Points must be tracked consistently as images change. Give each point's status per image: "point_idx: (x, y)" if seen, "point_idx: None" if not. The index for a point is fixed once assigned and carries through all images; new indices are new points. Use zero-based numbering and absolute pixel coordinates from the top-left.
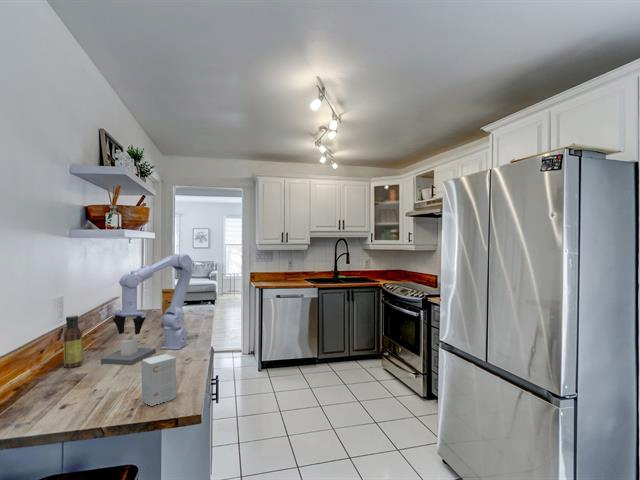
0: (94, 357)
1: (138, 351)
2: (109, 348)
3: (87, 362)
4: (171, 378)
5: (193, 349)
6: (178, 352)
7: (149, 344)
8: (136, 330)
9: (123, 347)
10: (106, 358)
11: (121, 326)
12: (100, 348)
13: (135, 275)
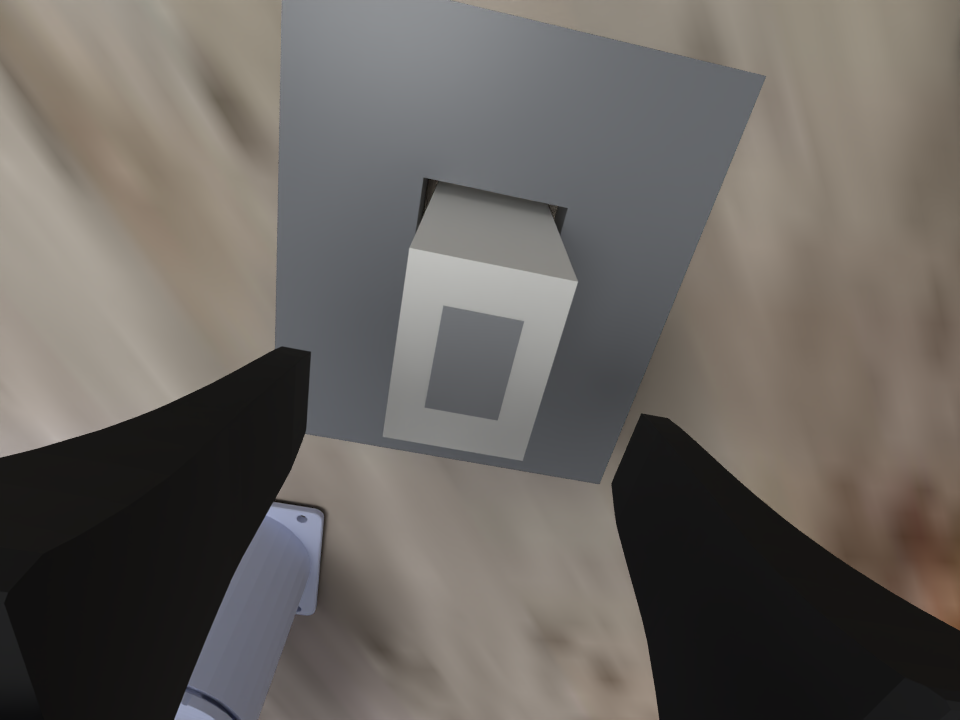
0: (870, 311)
1: None
2: None
3: (911, 134)
4: None
5: None
6: (79, 409)
7: (485, 613)
8: (230, 375)
9: (519, 237)
10: (686, 77)
11: (675, 556)
12: (875, 552)
13: None
